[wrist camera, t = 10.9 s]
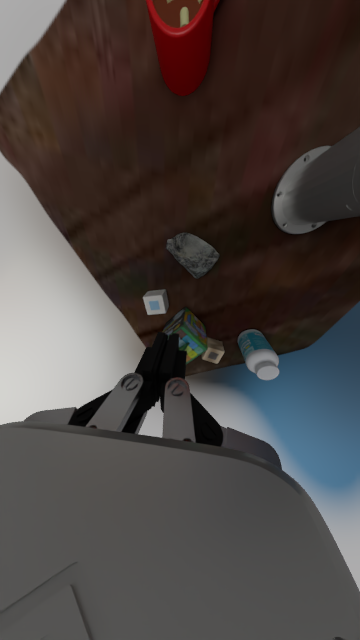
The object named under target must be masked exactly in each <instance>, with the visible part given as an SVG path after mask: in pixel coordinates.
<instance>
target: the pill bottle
mask: <svg viewBox="0 0 360 640" xmlns="http://www.w3.org/2000/svg"><path fill="white" fill-rule="evenodd" d="M238 345H239V347H240V350H241V352H242V355H243V357H244V360H245V362H246V365H247V367H248V368H249V370H251V371H252V372H254V373H256V374H257V376H258V377H259V378H260V379H263V380H270V379H274V378H276V377H277V376H278V375H279V369H278V368H277V366H278V364H279V359H278V356H277V355H276V353H275V352H274V350H273V349H272V347H271V346H270V345H269V343H268V342H267V340H266V339H265V337H264V336H263V334H262V333H261V332H260V331H258V330H255V329H249V330H245V331H243V332H242V333H241V334H240V335H239V337H238Z"/></svg>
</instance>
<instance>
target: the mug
mask: <svg viewBox="0 0 360 640" xmlns="http://www.w3.org/2000/svg"><path fill="white" fill-rule="evenodd" d="M219 1H220V0H146V3H147V8H148V13H149V17H150V22H151V27H152V32H153V36H154V41H155V46H156V51H157V55H158V60H159V65H160V69H161V73H162V76H163V79H164V81H165V83H166V85H167V86H168V88H169V89H170V90H171V91H172V92H173V93H175V94H177V95H180V96H185V95H189V94H191V93H192V92H194V91H195V90H196V89H197V88H198V87H199V85H200V84H201V82H202V81H203V79H204V77H205V74H206V72H207V69H208V65H209V60H210V53H211V39H212V26H213V13H214V11H215V9H216V7H217V5H218V3H219Z"/></svg>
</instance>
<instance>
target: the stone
mask: <svg viewBox="0 0 360 640" xmlns="http://www.w3.org/2000/svg"><path fill="white" fill-rule="evenodd" d="M166 246H167V247H166V249H167V250H168V251H169V252H171V253H172V254H173V256H174V257H175V259H176V260H177V261H178V262H179V263H180V264H182V265H183V266H184V267H185V268H186V269H187V270H188V271H189V272H190V273H191V274H192V275H193V276H194V277H195V278H200V277H201V276H203V275H205V274H206V273H207V272H208V271H209V270H210V269H211V268H212V267H213V265H214V264H215V262H216V261H217V259H218V258H219V254H218V253H217V252H216V250H215V249H214V248H213V247H212V246H211V245H209V244H208V243H206V242H205V241H203V240H201V239H200V238H198V237H196V236H194V235H192V234H189V233H181V234H178V235H177V236H176V237H173V238H172V239H168V241H167V245H166Z"/></svg>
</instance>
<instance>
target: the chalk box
mask: <svg viewBox="0 0 360 640" xmlns="http://www.w3.org/2000/svg"><path fill="white" fill-rule="evenodd" d="M163 332H165V333H166V334H168V338H169V335H172V333H177V334H179V350H184V351H187V358H186V364H187V363H189V362H190V361H192V360H193V359H195V358H196V357H198V356H199V355H200V354H202V353H203V352H205V351H207V349H208V348H207V339H206V330H205V326H204V325H203V324H202V322H201V321H200V320H199V319H198V318H197V317H196V316H195V315H194V314H193V313H192V312H191V311H190V310H189V309H188V308H187V307H185V308H183V309H182V310H181V311H180V312H179V313H177V314H176V315H175V316H174V317H173V318H172V319H170V320H169V321H168V322H167V323H166V324H165V327H164V330H163Z"/></svg>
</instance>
